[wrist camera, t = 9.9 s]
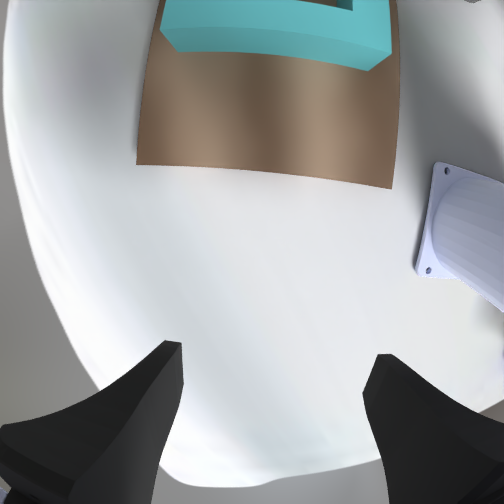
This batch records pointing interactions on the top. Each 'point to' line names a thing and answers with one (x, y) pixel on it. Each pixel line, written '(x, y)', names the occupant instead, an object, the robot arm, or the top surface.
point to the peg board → (271, 112)
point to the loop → (283, 29)
